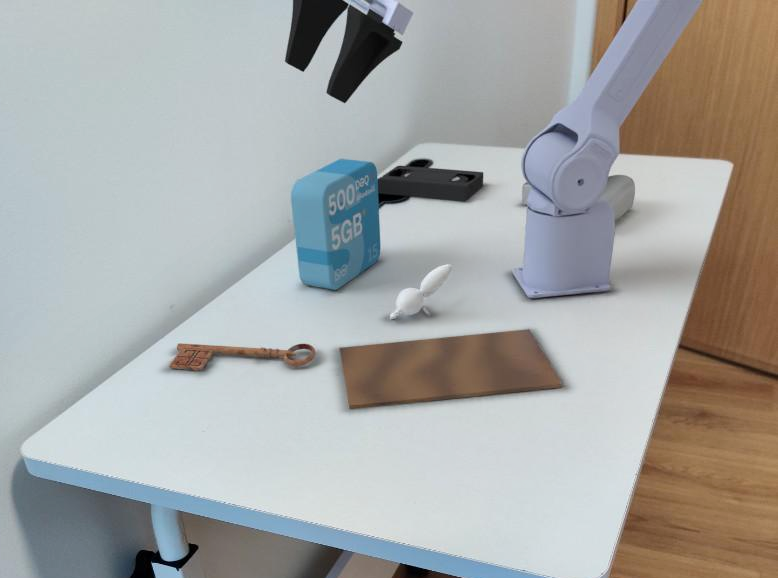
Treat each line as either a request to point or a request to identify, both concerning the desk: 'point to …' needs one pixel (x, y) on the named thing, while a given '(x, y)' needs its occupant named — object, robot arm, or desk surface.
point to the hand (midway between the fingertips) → (314, 82)
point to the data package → (336, 222)
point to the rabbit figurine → (420, 292)
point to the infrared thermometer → (607, 193)
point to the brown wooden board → (445, 368)
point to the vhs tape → (431, 183)
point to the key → (203, 357)
